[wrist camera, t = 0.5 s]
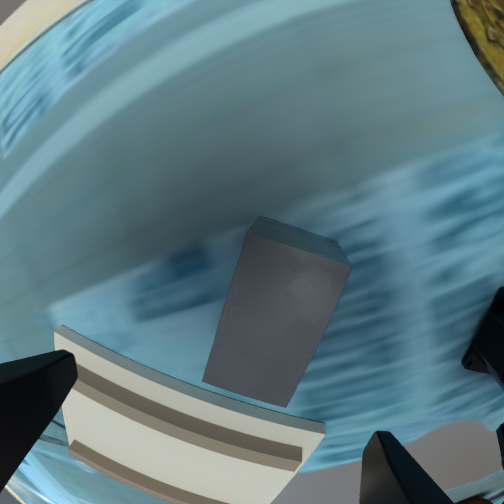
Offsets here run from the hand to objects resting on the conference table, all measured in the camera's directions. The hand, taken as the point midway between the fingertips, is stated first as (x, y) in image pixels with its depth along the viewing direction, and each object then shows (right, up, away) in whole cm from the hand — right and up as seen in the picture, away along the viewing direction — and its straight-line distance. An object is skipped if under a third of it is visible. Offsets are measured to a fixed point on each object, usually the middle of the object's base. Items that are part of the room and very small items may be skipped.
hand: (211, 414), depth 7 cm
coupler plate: (-7, -13, +16) cm, 22 cm away
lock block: (+2, +2, +11) cm, 11 cm away
